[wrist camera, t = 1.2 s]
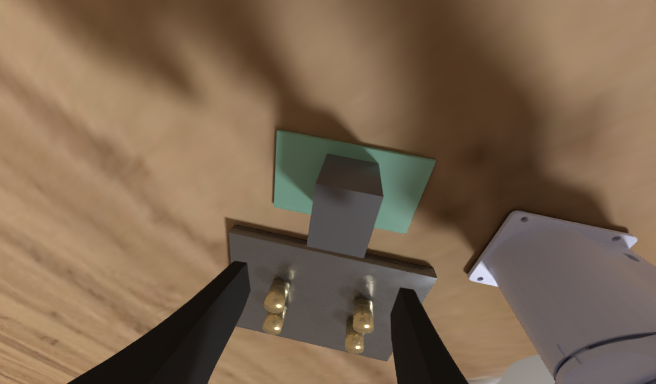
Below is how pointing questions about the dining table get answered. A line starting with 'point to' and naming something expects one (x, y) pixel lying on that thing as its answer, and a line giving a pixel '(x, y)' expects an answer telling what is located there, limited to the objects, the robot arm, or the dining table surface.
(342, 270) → the plate
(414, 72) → the dining table surface
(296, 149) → the board
